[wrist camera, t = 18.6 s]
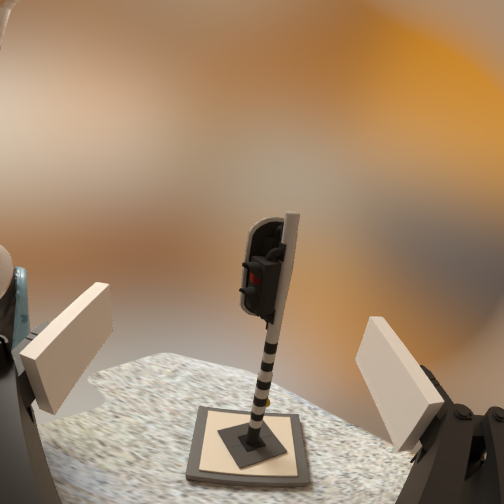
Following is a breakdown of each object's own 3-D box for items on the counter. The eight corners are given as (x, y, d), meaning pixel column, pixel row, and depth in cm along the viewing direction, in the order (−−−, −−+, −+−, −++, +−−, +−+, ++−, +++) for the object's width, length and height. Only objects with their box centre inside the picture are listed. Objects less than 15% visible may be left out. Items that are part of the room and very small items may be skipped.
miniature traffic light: (259, 417, 39) (297, 206, 31) (286, 452, 33) (348, 222, 25) (211, 429, 35) (231, 202, 27) (235, 469, 29) (274, 218, 21)
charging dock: (186, 478, 28) (185, 473, 27) (199, 411, 40) (199, 404, 40) (307, 486, 28) (310, 480, 28) (296, 419, 41) (298, 412, 40)
